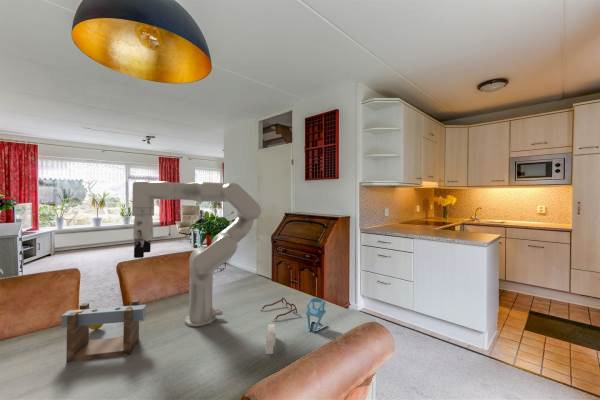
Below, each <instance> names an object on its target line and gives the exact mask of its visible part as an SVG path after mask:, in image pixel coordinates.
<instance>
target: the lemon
mask: <svg viewBox="0 0 600 400" xmlns="http://www.w3.org/2000/svg"><path fill="white" fill-rule="evenodd" d="M103 325H104V324H96V325H89V330H90V329H91V330H94V331H98V330H99V329H100V328H101V327H103Z"/></svg>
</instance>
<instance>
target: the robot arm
mask: <svg viewBox="0 0 600 400" xmlns="http://www.w3.org/2000/svg"><path fill="white" fill-rule="evenodd" d="M131 197H132V198H131V199H132V206H131V208H132V210H131V212H132V213H131V216H132V217H134V221H133V236H132V237H133V243H134V245H133V258H134V259H140V258H141V259H143V258H144V256H145V255H144V254H146V253H150V252H151V249H152V247H151V246H152V245H151V240H152V239H153V238H154V222H153V217H154V216H155V199H156V200H161V201H163V200H164V201H167V200H179V201H180V200H183V201H188V200H189V201H192V202H193V201H195V202H210V203H211V202H212V203H213V202H215V203H216V202H219V203H229V204H230V205H231V206H232V207H233V208H234V209H235V210H236V211H237V214H236V217H235V219H234V221H233V222H232V223H231V224H230V225H229V226H227V227H226V228H224V229H222V231H220V232H219V233H218V234H216V235H215V236H214V237H213V238H212V239H211V244H210V245H209V246H207V247H203V246H202V247H197V248H195V249H194V250H193V251H191V254H190V256H189V260H188V263H189V264H188V265H189V293H188V294H189V297H188V300H189V301H188V303H189V304H188V315H187V316H186V317H185V318H184V323H185V324H186V325H187V326H189V327H202V326H203V327H204V326H207V325H209V324H212V323H214V322H215V321H216V318H217V317H216V316H223V309H222V310H221V309H220V308H216V309H215V308H214V306H213V292H214V291H213V283H214V271H216V270H217V269H219V267H221V266H222V265H223V264H225V263H226V262H227V261H228V260H230V259H231V258H232V257H233V256H234V254H236V252H237V249H238V243H239V242H240V241H242V239H244V238H245V237H246V236H247V235H248V234H249V233H250V231H251V230H252V228H253V226H254V225H253V224H254V221H255V220H257V219H258V218H259V217H260V215H261V211H262V210H261V209H262V208H261V206H260V204H259V203H258V202H257V201H256V200H255V198H253V196H251V195H250V194H249V193H248V192H247V191H246V190H245V189H244V188H243V187H242V186H241V185H239V184H238V183H235V182H211V181H210V182H208V181H196V182H169V181H167V180H163V181H149V180H135V181H133V183H132V196H131Z"/></svg>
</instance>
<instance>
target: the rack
mask: <svg viewBox="0 0 600 400" xmlns="http://www.w3.org/2000/svg"><path fill="white" fill-rule="evenodd" d="M134 305H140V299H133V300H132V301H131V305H130V306H134ZM82 309H90V302H87V303H85V302H84V303H82V304H80V305H79V310H82ZM139 339H140V321H133V308H126V309H125V310H124V322H123V336H117V337H109V338H108V337H107V338H99V339H98V338H97V339H90V328H89V325H85V326H78V312H75V313H70V314H69V315H67V327H66V356H65V357H66V360H65V361H66V363H70V362H77V361H86V360H93V359H100V358H101V359H103V358H111V357H118V356H126V355H131V353H132V352H133V349H134V348H135V346H136V345H137V343H138V341H139Z"/></svg>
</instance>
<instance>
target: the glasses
mask: <svg viewBox="0 0 600 400" xmlns="http://www.w3.org/2000/svg"><path fill="white" fill-rule="evenodd" d="M280 302H281V303H283V304H284V302H285V306H287V307H288V306H289V307H290V309H293V310H289V311H287V312H285V313H281V314H278V315H277V316H275V318H274V319H273V320H275V319H276V320H277V319H279V317H282V316H286V315H288V314H290V313H293V312H292V311H294V312H296V313H297V314H298V308H297V307H296V305H295V304H294V303H290V302H288V301H287V299H286V298H285V297H281V299H280V300H277V301H275V302H273V303H271V304H265V305H264V306H262V308H261V309H263V310H264V309H265V308H266V307H269V306H271V307H272V306H274V305H276V304H278V303H280ZM293 307H294V308H293ZM276 320H275V321H276Z"/></svg>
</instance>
